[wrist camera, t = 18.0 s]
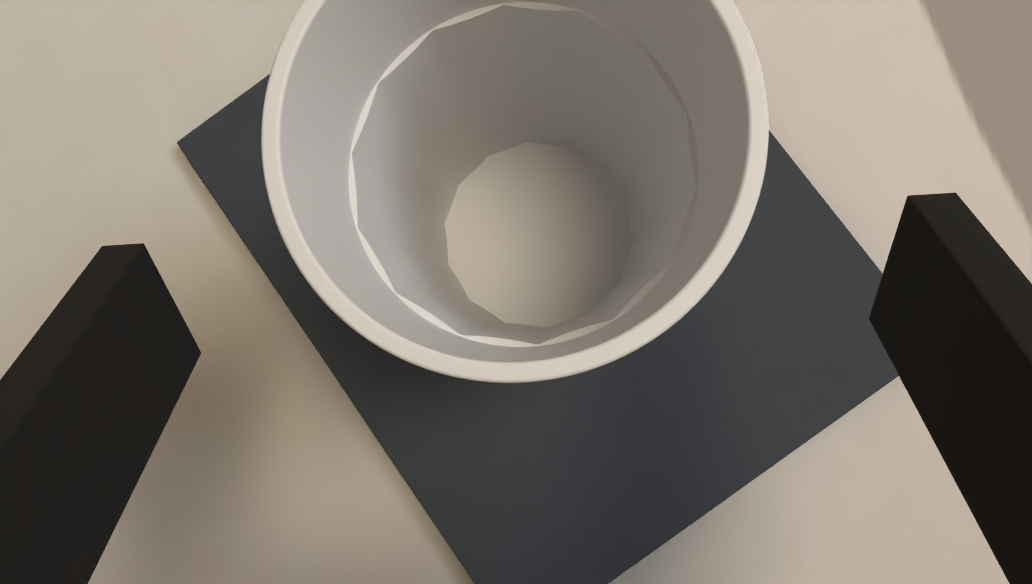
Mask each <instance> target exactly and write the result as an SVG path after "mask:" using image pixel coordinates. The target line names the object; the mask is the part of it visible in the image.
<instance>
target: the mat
mask: <svg viewBox="0 0 1032 584" xmlns="http://www.w3.org/2000/svg"><path fill="white" fill-rule="evenodd" d="M269 77H270V74H269V75H268V76H267V77H265V78H264V79H263V80H261V81H260V82H259V83H257V84H256V85H254V86H253V87H252V88H250V89H249V90H248V91H246V92H245V93H244V94H242V95H241V96H239V97H238V98H237V99H235V100H234V101H233V102H231V103H230V104H228V105H227V106H226V107H224V108H223V109H222V110H220V111H219V112H218V113H216V114H215V115H213V116H212V117H211V118H209V119H208V120H207V121H205V122H204V123H203V124H201V125H200V126H198V127H197V128H196V129H194V130H193V131H192V132H190V133H189V134H188V135H186V136H185V137H183V138H182V139H181V140H179V141H178V142H177V144H178V145H179V147H180V148H181V150H182V151H183V153H184V154H185V156H186V157H187V159H188V160H189V162H190V163H191V164H192V166H193V167H194V169H195V170H196V172H197V173H198V175H199V176H200V178H201V179H202V181H203V182H204V184H205V185H206V187H207V188H208V190H209V191H210V193H211V194H212V195H213V197H214V198H215V200H216V201H217V203H218V204H219V206H220V207H221V209H222V210H223V212H224V213H225V215H226V216H227V218H228V219H229V221H230V222H231V224H232V225H233V227H234V228H235V229H236V231H237V232H238V234H239V235H240V237H241V238H242V240H243V241H244V243H245V244H246V246H247V247H248V249H249V250H250V252H251V253H252V255H253V256H254V258H255V259H256V261H257V262H258V263H259V265H260V266H261V268H262V269H263V271H264V272H265V274H266V275H267V277H268V278H269V280H270V281H271V283H272V284H273V286H274V287H275V289H276V290H277V292H278V293H279V294H280V296H281V297H282V299H283V300H284V302H285V303H286V305H287V306H288V308H289V309H290V311H291V312H292V314H293V315H294V317H295V318H296V320H297V321H298V323H299V324H300V326H301V327H302V328H303V330H304V331H305V333H306V334H307V336H308V337H309V339H310V340H311V342H312V343H313V345H314V346H315V348H316V349H317V351H318V352H319V354H320V355H321V357H322V358H323V360H324V361H325V362H326V364H327V365H328V367H329V368H330V370H331V371H332V373H333V374H334V376H335V377H336V379H337V380H338V382H339V383H340V385H341V386H342V388H343V389H344V391H345V392H346V393H347V395H348V396H349V398H350V399H351V401H352V402H353V404H354V405H355V407H356V408H357V410H358V411H359V413H360V414H361V416H362V417H363V419H364V420H365V422H366V423H367V425H368V426H369V427H370V429H371V430H372V432H373V433H374V435H375V436H376V438H377V439H378V441H379V442H380V444H381V445H382V447H383V448H384V450H385V451H386V453H387V454H388V456H389V457H390V458H391V460H392V461H393V463H394V464H395V466H396V467H397V469H398V470H399V472H400V473H401V475H402V476H403V478H404V479H405V481H406V482H407V484H408V485H409V487H410V488H411V490H412V491H413V492H414V494H415V495H416V497H417V498H418V500H419V501H420V503H421V504H422V506H423V507H424V509H425V510H426V512H427V513H428V515H429V516H430V518H431V519H432V521H433V522H434V524H435V525H436V526H437V528H438V529H439V531H440V532H441V534H442V535H443V537H444V538H445V540H446V541H447V543H448V544H449V546H450V547H451V549H452V550H453V552H454V553H455V555H456V556H457V557H458V559H459V560H460V562H461V563H462V565H463V566H464V568H465V569H466V571H467V572H468V574H469V575H470V577H471V578H472V580H473V581H474V583H475V584H608V583H609V582H611V581H612V580H614V579H615V578H616V577H618V576H619V575H621V574H622V573H623V572H625V571H626V570H628V569H629V568H630V567H632V566H633V565H635V564H636V563H637V562H639V561H640V560H642V559H643V558H644V557H646V556H647V555H649V554H650V553H651V552H653V551H654V550H656V549H657V548H658V547H660V546H661V545H663V544H664V543H665V542H667V541H668V540H670V539H671V538H672V537H674V536H675V535H677V534H678V533H679V532H681V531H682V530H684V529H685V528H686V527H688V526H689V525H691V524H692V523H693V522H695V521H696V520H698V519H699V518H700V517H702V516H703V515H705V514H706V513H707V512H709V511H710V510H712V509H713V508H714V507H716V506H717V505H719V504H720V503H721V502H723V501H724V500H726V499H727V498H728V497H730V496H731V495H733V494H734V493H735V492H737V491H738V490H740V489H741V488H742V487H744V486H745V485H747V484H748V483H749V482H751V481H752V480H754V479H755V478H756V477H758V476H759V475H760V474H762V473H763V472H765V471H766V470H767V469H769V468H770V467H772V466H773V465H774V464H776V463H777V462H779V461H780V460H781V459H783V458H784V457H786V456H787V455H788V454H790V453H791V452H793V451H794V450H795V449H797V448H798V447H800V446H801V445H802V444H804V443H805V442H807V441H808V440H809V439H811V438H812V437H814V436H815V435H816V434H818V433H819V432H821V431H822V430H823V429H825V428H826V427H828V426H829V425H830V424H832V423H833V422H835V421H836V420H837V419H839V418H840V417H842V416H843V415H844V414H846V413H847V412H849V411H850V410H851V409H853V408H854V407H856V406H857V405H858V404H860V403H861V402H863V401H864V400H865V399H867V398H868V397H870V396H871V395H872V394H874V393H875V392H877V391H878V390H879V389H881V388H882V387H884V386H885V385H886V384H888V383H889V382H891V381H892V380H893V379H895V378H896V377H898V376H899V375H898V373H897V371H896V369H895V367H894V365H893V363H892V361H891V359H890V358H889V356H888V354H887V352H886V350H885V348H884V346H883V344H882V343H881V341H880V339H879V337H878V335H877V333H876V331H875V329H874V327H873V326H872V324H871V322H870V320H869V316H870V313H871V310H872V307H873V304H874V300H875V297H876V294H877V291H878V288H879V285H880V281H881V278H882V275H883V274H882V272H881V271H880V270H879V269H878V267H877V266H876V265H875V264H874V262H873V261H872V260H871V259H870V257H869V256H868V255H867V253H866V252H865V251H864V250H863V248H862V247H861V246H860V245H859V243H858V242H857V241H856V240H855V238H854V237H853V236H852V235H851V233H850V232H849V231H848V229H847V228H846V227H845V226H844V224H843V223H842V222H841V221H840V219H839V218H838V217H837V216H836V214H835V213H834V212H833V211H832V209H831V208H830V207H829V205H828V204H827V203H826V202H825V200H824V199H823V198H822V197H821V195H820V194H819V193H818V192H817V190H816V189H815V188H814V187H813V185H812V184H811V183H810V181H809V180H808V179H807V178H806V176H805V175H804V174H803V173H802V171H801V170H800V169H799V168H798V166H797V165H796V164H795V163H794V161H793V160H792V159H791V157H790V156H789V155H788V154H787V152H786V151H785V150H784V149H783V147H782V146H781V145H780V144H779V142H778V141H777V140H776V139H775V137H774V136H773V135H772V133H771V132H770V131H769V140H768V153H767V161H766V168H765V174H764V179H763V183H762V187H761V191H760V195H759V198H758V202H757V205H756V208H755V211H754V213H753V216H752V219H751V221H750V224H749V226H748V228H747V230H746V233H745V235H744V237H743V239H742V241H741V243H740V245H739V246H738V248H737V250H736V252H735V254H734V255H733V257H732V259H731V260H730V262H729V263H728V265H727V267H726V268H725V269H724V271H723V272H722V274H721V275H720V277H719V278H718V279H717V281H716V282H715V283H714V284H713V286H712V287H711V288H710V289H709V290H708V292H707V293H706V294H705V295H704V296H703V297H702V298H701V299H700V301H699V302H698V303H697V304H696V305H695V306H694V307H693V308H692V309H691V310H690V311H689V312H687V313H686V314H685V315H684V316H683V317H682V318H681V319H680V320H678V321H677V322H676V323H675V324H674V325H672V326H671V327H670V328H669V329H667V330H666V331H665V332H663V333H662V334H660V335H659V336H658V337H656V338H655V339H653V340H652V341H650V342H649V343H647V344H645V345H644V346H642V347H640V348H639V349H637V350H635V351H633V352H631V353H629V354H627V355H625V356H623V357H621V358H619V359H617V360H615V361H612V362H610V363H608V364H605V365H603V366H600V367H597V368H594V369H591V370H588V371H585V372H582V373H578V374H575V375H571V376H566V377H562V378H557V379H551V380H544V381H536V382H523V383H495V382H483V381H474V380H468V379H462V378H457V377H452V376H448V375H444V374H440V373H437V372H434V371H431V370H428V369H425V368H422V367H419V366H417V365H414V364H412V363H409V362H407V361H405V360H403V359H401V358H398V357H396V356H394V355H392V354H391V353H389V352H387V351H385V350H383V349H381V348H380V347H378V346H377V345H375V344H373V343H372V342H370V341H369V340H367V339H366V338H364V337H363V336H362V335H360V334H359V333H358V332H356V331H355V330H354V329H352V328H351V327H350V326H349V325H348V324H346V323H345V322H344V321H343V320H342V319H341V318H340V317H339V316H337V315H336V314H335V313H334V312H333V311H332V310H331V309H330V308H329V307H328V306H327V305H326V304H325V302H324V301H323V300H322V299H321V298H320V297H319V296H318V294H317V293H316V292H315V291H314V289H313V288H312V287H311V286H310V284H309V283H308V282H307V280H306V279H305V277H304V276H303V274H302V273H301V271H300V270H299V268H298V267H297V265H296V264H295V262H294V260H293V258H292V256H291V255H290V253H289V251H288V249H287V247H286V245H285V243H284V241H283V238H282V236H281V234H280V232H279V229H278V226H277V224H276V221H275V218H274V215H273V212H272V209H271V206H270V202H269V198H268V194H267V189H266V184H265V179H264V172H263V163H262V147H261V130H262V116H263V107H264V100H265V94H266V89H267V85H268V81H269Z"/></svg>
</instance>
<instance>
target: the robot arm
mask: <svg viewBox="0 0 1032 584" xmlns="http://www.w3.org/2000/svg"><path fill="white" fill-rule="evenodd" d="M869 320H870V322H871V324H872V326H873V327H874V329H875V331H876V333H877V335H878V337H879V339H880V341H881V343H882V344H883V346H884V348H885V350H886V352H887V354H888V356H889V358H890V359H891V361H892V363H893V365H894V367H895V369H896V371H897V373H898V375H899V376H900V378H901V380H902V382H903V384H904V386H905V388H906V390H907V391H908V393H909V395H910V397H911V399H912V401H913V403H914V405H915V407H916V408H917V410H918V412H919V414H920V416H921V418H922V420H923V422H924V423H925V425H926V427H927V429H928V431H929V433H930V435H931V437H932V439H933V440H934V442H935V444H936V446H937V448H938V450H939V452H940V454H941V455H942V457H943V459H944V461H945V463H946V465H947V467H948V469H949V471H950V472H951V474H952V476H953V478H954V480H955V482H956V484H957V486H958V487H959V489H960V491H961V493H962V495H963V497H964V499H965V501H966V502H967V504H968V506H969V508H970V510H971V512H972V514H973V516H974V518H975V519H976V521H977V523H978V525H979V527H980V529H981V531H982V533H983V534H984V536H985V538H986V540H987V542H988V544H989V546H990V548H991V550H992V551H993V553H994V555H995V557H996V559H997V561H998V563H999V565H1000V566H1001V568H1002V570H1003V572H1004V574H1005V576H1006V578H1007V580H1008V582H1009V583H1010V584H1032V284H1031V283H1030V281H1029V280H1028V279H1027V278H1026V277H1025V275H1024V274H1023V273H1022V272H1021V271H1020V269H1019V268H1018V267H1017V266H1016V265H1015V263H1014V262H1013V261H1012V260H1011V259H1010V257H1009V256H1008V255H1007V254H1006V253H1005V251H1004V250H1003V249H1002V248H1001V247H1000V245H999V244H998V243H997V242H996V241H995V239H994V238H993V237H992V236H991V235H990V233H989V232H988V231H987V230H986V228H985V227H984V226H983V225H982V224H981V222H980V221H979V220H978V219H977V218H976V216H975V215H974V214H973V213H972V212H971V210H970V209H969V208H968V207H967V206H966V204H965V203H964V202H963V201H962V200H961V198H960V197H959V196H958V195H957V194H956V193H944V194H928V195H912V196H907V199H906V202H905V206H904V209H903V212H902V215H901V218H900V221H899V224H898V228H897V231H896V234H895V237H894V240H893V243H892V247H891V250H890V253H889V256H888V259H887V262H886V266H885V269H884V272H883V275H882V278H881V281H880V285H879V288H878V291H877V294H876V297H875V300H874V304H873V307H872V310H871V313H870V316H869ZM200 354H201V352H200V350H199V348H198V346H197V344H196V342H195V340H194V338H193V336H192V334H191V333H190V331H189V329H188V327H187V325H186V323H185V321H184V319H183V317H182V315H181V314H180V312H179V310H178V308H177V306H176V304H175V302H174V300H173V298H172V296H171V295H170V293H169V291H168V289H167V287H166V285H165V283H164V281H163V279H162V277H161V276H160V274H159V272H158V270H157V268H156V266H155V264H154V262H153V260H152V258H151V257H150V255H149V253H148V251H147V249H146V247H145V245H144V243H143V244H127V245H111V246H102V247H101V248H100V250H99V251H98V252H97V254H96V255H95V256H94V258H93V259H92V260H91V262H90V263H89V264H88V266H87V267H86V268H85V270H84V271H83V272H82V273H81V275H80V276H79V277H78V279H77V280H76V281H75V283H74V284H73V285H72V287H71V288H70V289H69V291H68V292H67V293H66V294H65V296H64V297H63V298H62V300H61V301H60V302H59V304H58V305H57V306H56V308H55V309H54V310H53V312H52V313H51V314H50V316H49V317H48V318H47V319H46V321H45V322H44V323H43V325H42V326H41V327H40V329H39V330H38V331H37V333H36V334H35V335H34V337H33V338H32V339H31V341H30V342H29V343H28V344H27V346H26V347H25V348H24V350H23V351H22V352H21V354H20V355H19V356H18V358H17V359H16V360H15V362H14V363H13V364H12V365H11V367H10V368H9V369H8V371H7V372H6V373H5V375H4V376H3V377H2V379H1V380H0V584H88V582H89V580H90V578H91V576H92V574H93V572H94V570H95V568H96V566H97V564H98V562H99V559H100V557H101V555H102V553H103V551H104V549H105V547H106V545H107V543H108V541H109V539H110V537H111V535H112V533H113V531H114V529H115V527H116V525H117V523H118V521H119V519H120V517H121V515H122V513H123V511H124V509H125V507H126V505H127V503H128V501H129V498H130V496H131V494H132V492H133V490H134V488H135V486H136V484H137V482H138V480H139V478H140V476H141V474H142V472H143V470H144V468H145V466H146V464H147V462H148V460H149V458H150V456H151V454H152V452H153V450H154V448H155V446H156V444H157V442H158V440H159V438H160V435H161V433H162V431H163V429H164V427H165V425H166V423H167V421H168V419H169V417H170V415H171V413H172V411H173V409H174V407H175V405H176V403H177V401H178V399H179V397H180V395H181V393H182V391H183V389H184V387H185V385H186V383H187V381H188V379H189V377H190V374H191V372H192V370H193V368H194V366H195V364H196V362H197V360H198V358H199V356H200Z"/></svg>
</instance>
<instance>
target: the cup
mask: <svg viewBox="0 0 1032 584" xmlns="http://www.w3.org/2000/svg"><path fill="white" fill-rule="evenodd" d="M768 140H769V116H768V102H767V94H766V88H765V82H764V77H763V73H762V69H761V65H760V61H759V58H758V54H757V51H756V49H755V46H754V43H753V40H752V38H751V35H750V33H749V31H748V28H747V26H746V24H745V22H744V20H743V18H742V16H741V14H740V12H739V10H738V9H737V7H736V5H735V4H734V2H733V0H304V1H303V3H302V4H301V6H300V7H299V9H298V10H297V12H296V14H295V16H294V17H293V19H292V21H291V23H290V25H289V27H288V29H287V31H286V33H285V35H284V37H283V39H282V42H281V44H280V46H279V49H278V52H277V54H276V57H275V60H274V63H273V66H272V69H271V73H270V77H269V81H268V85H267V89H266V94H265V100H264V107H263V116H262V130H261V147H262V163H263V172H264V179H265V184H266V189H267V194H268V198H269V202H270V206H271V209H272V212H273V215H274V218H275V221H276V224H277V226H278V229H279V232H280V234H281V236H282V238H283V241H284V243H285V245H286V247H287V249H288V251H289V253H290V255H291V256H292V258H293V260H294V262H295V264H296V265H297V267H298V268H299V270H300V271H301V273H302V274H303V276H304V277H305V279H306V280H307V282H308V283H309V284H310V286H311V287H312V288H313V289H314V291H315V292H316V293H317V294H318V296H319V297H320V298H321V299H322V300H323V301H324V302H325V304H326V305H327V306H328V307H329V308H330V309H331V310H332V311H333V312H334V313H335V314H336V315H337V316H339V317H340V318H341V319H342V320H343V321H344V322H345V323H346V324H348V325H349V326H350V327H351V328H352V329H354V330H355V331H356V332H358V333H359V334H360V335H362V336H363V337H364V338H366V339H367V340H369V341H370V342H372V343H373V344H375V345H377V346H378V347H380V348H381V349H383V350H385V351H387V352H389V353H391V354H392V355H394V356H396V357H398V358H401V359H403V360H405V361H407V362H409V363H412V364H414V365H417V366H419V367H422V368H425V369H428V370H431V371H434V372H437V373H440V374H444V375H448V376H452V377H457V378H462V379H468V380H474V381H483V382H495V383H523V382H536V381H544V380H551V379H557V378H562V377H566V376H571V375H575V374H578V373H582V372H585V371H588V370H591V369H594V368H597V367H600V366H603V365H605V364H608V363H610V362H612V361H615V360H617V359H619V358H621V357H623V356H625V355H627V354H629V353H631V352H633V351H635V350H637V349H639V348H640V347H642V346H644V345H645V344H647V343H649V342H650V341H652V340H653V339H655V338H656V337H658V336H659V335H660V334H662V333H663V332H665V331H666V330H667V329H669V328H670V327H671V326H672V325H674V324H675V323H676V322H677V321H678V320H680V319H681V318H682V317H683V316H684V315H685V314H686V313H687V312H689V311H690V310H691V309H692V308H693V307H694V306H695V305H696V304H697V303H698V302H699V301H700V299H701V298H702V297H703V296H704V295H705V294H706V293H707V292H708V290H709V289H710V288H711V287H712V286H713V284H714V283H715V282H716V281H717V279H718V278H719V277H720V275H721V274H722V272H723V271H724V269H725V268H726V267H727V265H728V263H729V262H730V260H731V259H732V257H733V255H734V254H735V252H736V250H737V248H738V246H739V245H740V243H741V241H742V239H743V237H744V235H745V233H746V230H747V228H748V226H749V224H750V221H751V219H752V216H753V213H754V211H755V208H756V205H757V202H758V198H759V195H760V191H761V187H762V183H763V179H764V174H765V168H766V161H767V153H768Z"/></svg>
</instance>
